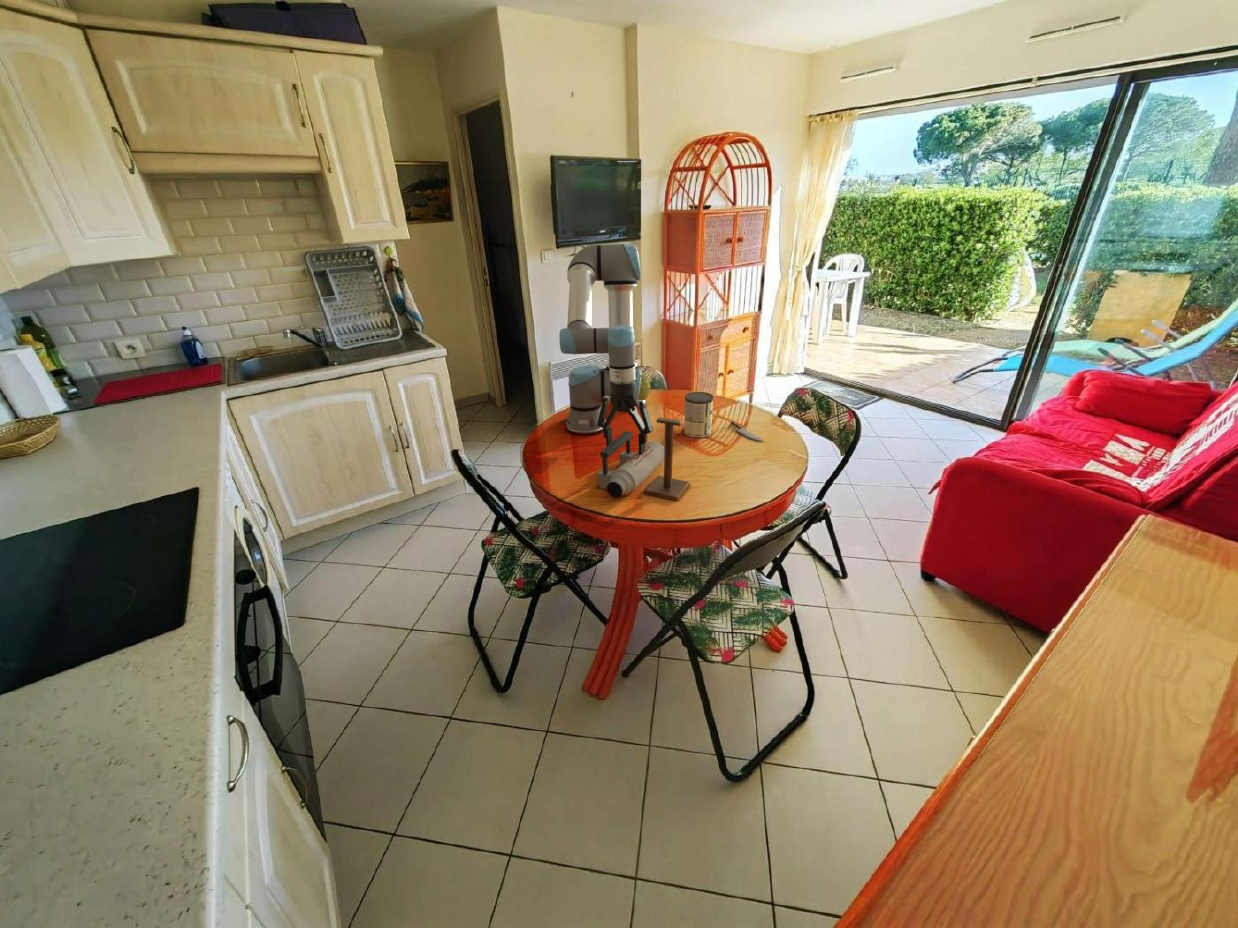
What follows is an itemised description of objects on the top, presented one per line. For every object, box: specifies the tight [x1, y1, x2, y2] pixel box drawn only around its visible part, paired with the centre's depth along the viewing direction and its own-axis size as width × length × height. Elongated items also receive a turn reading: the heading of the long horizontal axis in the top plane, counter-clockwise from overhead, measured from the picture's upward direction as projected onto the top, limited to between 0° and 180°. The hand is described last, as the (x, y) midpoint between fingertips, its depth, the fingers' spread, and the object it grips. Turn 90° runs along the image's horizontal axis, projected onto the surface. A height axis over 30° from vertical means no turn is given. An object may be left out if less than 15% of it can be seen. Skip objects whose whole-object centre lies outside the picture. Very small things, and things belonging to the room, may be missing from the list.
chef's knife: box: [730, 421, 764, 442], centre depth 188 cm, size 19×1×3 cm
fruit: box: [637, 372, 651, 401], centre depth 217 cm, size 16×14×15 cm
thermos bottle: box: [606, 440, 665, 499], centre depth 154 cm, size 8×8×28 cm
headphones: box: [597, 430, 636, 490], centre depth 156 cm, size 4×17×12 cm, turn 154°
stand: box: [644, 417, 690, 501], centre depth 147 cm, size 10×10×22 cm
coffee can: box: [683, 391, 715, 438], centre depth 187 cm, size 10×10×14 cm
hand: (625, 450), depth 158 cm, fingers open, 10 cm apart
